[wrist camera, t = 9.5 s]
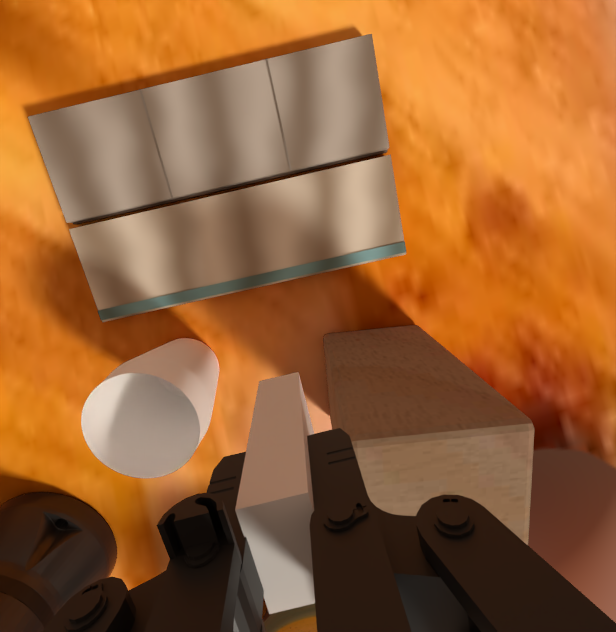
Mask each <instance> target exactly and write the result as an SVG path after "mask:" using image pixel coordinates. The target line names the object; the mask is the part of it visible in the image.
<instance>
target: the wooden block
mask: <svg viewBox="0 0 616 632" xmlns="http://www.w3.org/2000/svg"><path fill="white" fill-rule="evenodd" d="M323 341H324V352H325V363H326V374H327V386H328V397H329V408H330V418H331V424H332V430H333V429H337V428H341V429H342V430H343V431H344V432H346V433H347V434H348V435H349V436H350V439H351V442H352V445H353V449H354V452H355V455H356V458H357V462H358V465H359V468H360V471H361V475H362V478H363V481H364V484H365V488H366V491H367V494H368V496H369V498H370V500H371V502H372V503H373V504H374V505H375V506H376V507H378V508H379V509H381V510H383V511H385V512H388V513H391V514H395V515H404V516H416V515H417V512H418V511H419V509H420V507H421V505H422V504H424V503H425V502H426V501H428V500H429V499H431V498H433V497H437V496H440V495H460V496H464V497H467V498H471V499H473V500H474V501H476V502H478V503H479V504H481V505H482V506H484V507H485V508H486V509H487V510H488V511H489V512H491V513H492V514H493V515H494V516H495V517H496V518H497V519H498V520H500V521H501V522H502V523H503V524H504V525H505V526H506V527H507V528H509V529H510V530H511V531H512V532H513V533H514V534H515V535H517V536H518V537H519V538H520V539H521V540H522V541H523V542H524V543H526V544H527V545H528V536H529V535H528V534H529V517H530V516H529V515H530V499H531V481H532V480H531V479H532V462H533V444H534V426H533V423H532V421H531V419H529V418H528V417H527V416H526V415H525V414H523V413H522V412H521V411H520V410H519V409H517V408H516V407H515V406H514V405H513V404H511V403H510V402H509V401H508V400H507V399H505V398H504V397H503V396H502V395H501V394H499V393H498V392H497V391H496V390H495V389H493V388H492V387H491V386H490V385H489V384H487V383H486V382H485V381H484V380H483V379H481V378H480V377H479V376H478V375H477V374H475V373H474V372H473V371H472V370H470V369H469V368H468V367H467V366H466V365H464V364H463V363H462V362H461V361H460V360H458V359H457V358H456V357H455V356H454V355H452V354H451V353H450V352H449V351H448V350H446V349H445V348H444V347H443V346H442V345H440V344H439V343H438V342H437V341H436V340H434V339H433V338H432V337H431V336H430V335H428V334H427V333H426V332H425V331H424V330H422V329H421V328H420V327H419V326H417V325H409V326H399V327H389V328H379V329H369V330H359V331H349V332H339V333H329V334H326V335H324V338H323Z"/></svg>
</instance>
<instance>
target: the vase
mask: <svg viewBox="0 0 616 632" xmlns="http://www.w3.org/2000/svg"><path fill="white" fill-rule="evenodd" d="M263 622H264V625H265V628H266V631H267V632H317V623H316V609H315V603H314V604H310V605H306V606H302V607H297V608H293V609H289V610H285V611H281V612H277V613H273V614H269V611H268V610H267V612H266V613H265V615H264V617H263Z"/></svg>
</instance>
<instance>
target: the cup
mask: <svg viewBox="0 0 616 632" xmlns="http://www.w3.org/2000/svg"><path fill="white" fill-rule="evenodd" d="M218 377H219V363H218V360H217V357H216V355H215V354H214V352H213V351H212V350H211V349H210V348H209V347H208V346H207V345H206V344H204V343H202V342H200V341H198V340H195V339H191V338H180V339H176V340H173V341H171V342H168V343H166V344H164V345H162V346H159V347H157V348H155V349H153V350H151V351H148V352H146V353H144V354H142V355H140V356H137V357H135V358H133V359H131V360H129V361H127V362H125V363H123V364H122V365H120V366H119V367H117V368H116V369H115V370H114V371H112V372H111V374H110V375H109V376H108V377H107V378H106V379H105V380H104V381H103V382H102V383H101V384H99V385H98V386H97V387H96V388H95V389H94V390H93V391H92V392H91V394H90V395H89V396H88V398H87V400H86V402H85V404H84V407H83V411H82V418H81V424H82V431H83V435H84V438H85V440H86V443H87V445H88V446H89V448H90V450H91V451H92V452H93V454H94V455H95V456H96V457H97V458H98V459H99V460H100V461H101V462H102V463H103V464H105V465H106V466H108V467H109V468H111V469H112V470H114V471H116V472H119V473H121V474H124V475H127V476H131V477H136V478H156V477H161V476H165V475H168V474H170V473H172V472H174V471H176V470H178V469H179V468H181V467H182V466H183V465H184V464H185V463H186V462H188V460H189V459H190V458H191V457H192V455H193V454H194V452H195V450H196V448H197V447H198V445H199V443H200V442H201V440H202V438H203V437H204V435H205V434H206V432H207V430H208V427H209V424H210V421H211V416H212V411H213V405H214V399H215V394H216V388H217V382H218Z"/></svg>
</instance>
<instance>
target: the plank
mask: <svg viewBox="0 0 616 632" xmlns="http://www.w3.org/2000/svg"><path fill="white" fill-rule="evenodd" d="M69 231H70V234H71V236H72V239H73V242H74V245H75V247H76V250H77V253H78V256H79V259H80V261H81V264H82V267H83V270H84V272H85V275H86V278H87V281H88V284H89V286H90V289H91V292H92V295H93V297H94V300H95V303H96V306H97V309H98V313H99V316H100V319H101V320H102V322H106V321H110V320H114V319H119V318H123V317H128V316H132V315H137V314H141V313H146V312H150V311H155V310H159V309H164V308H168V307H173V306H177V305H181V304H186V303H190V302H195V301H199V300H204V299H208V298H213V297H217V296H222V295H226V294H231V293H235V292H240V291H244V290H248V289H253V288H257V287H262V286H266V285H271V284H275V283H280V282H284V281H289V280H293V279H298V278H302V277H307V276H311V275H315V274H320V273H324V272H329V271H333V270H338V269H342V268H347V267H351V266H356V265H360V264H365V263H369V262H374V261H378V260H382V259H387V258H391V257H396V256H400V255H405V254H406V247H405V242H404V237H403V230H402V224H401V218H400V212H399V205H398V199H397V193H396V186H395V180H394V174H393V167H392V161H391V155H387V156H383V157H379V158H374V159H370V160H366V161H361V162H357V163H353V164H348V165H344V166H340V167H335V168H331V169H327V170H323V171H318V172H314V173H310V174H305V175H301V176H297V177H292V178H288V179H284V180H279V181H275V182H271V183H266V184H262V185H258V186H253V187H249V188H245V189H241V190H236V191H232V192H228V193H223V194H219V195H215V196H210V197H206V198H202V199H197V200H193V201H189V202H184V203H180V204H176V205H171V206H167V207H163V208H159V209H154V210H150V211H146V212H141V213H137V214H133V215H128V216H124V217H120V218H115V219H111V220H107V221H102V222H98V223H94V224H89V225H85V226H81V227H77V228H72V229H69Z"/></svg>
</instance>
